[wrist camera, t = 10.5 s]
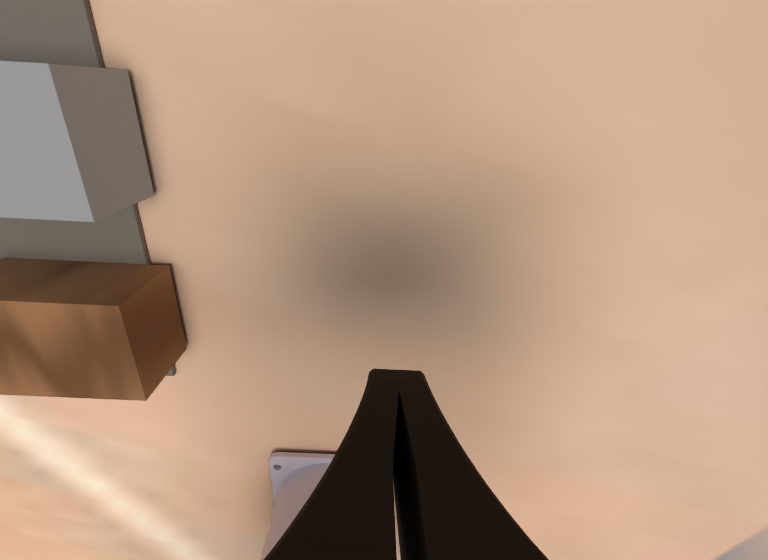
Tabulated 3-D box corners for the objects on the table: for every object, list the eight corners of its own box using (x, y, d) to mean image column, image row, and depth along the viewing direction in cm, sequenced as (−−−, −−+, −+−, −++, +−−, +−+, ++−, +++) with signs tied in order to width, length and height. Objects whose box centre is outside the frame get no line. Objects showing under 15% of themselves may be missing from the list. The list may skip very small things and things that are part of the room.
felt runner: (176, 372, 22) (173, 375, 22) (36, 366, 22) (32, 369, 22) (86, -8, 14) (81, -10, 14) (-132, -21, 14) (-142, -23, 14)
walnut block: (146, 400, 18) (-32, 393, 17) (186, 348, 21) (39, 341, 21) (118, 306, 15) (-85, 296, 15) (169, 265, 19) (4, 257, 19)
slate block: (94, 222, 14) (-133, 210, 14) (154, 195, 17) (-26, 185, 17) (48, 63, 12) (-224, 47, 12) (127, 70, 15) (-79, 58, 15)
